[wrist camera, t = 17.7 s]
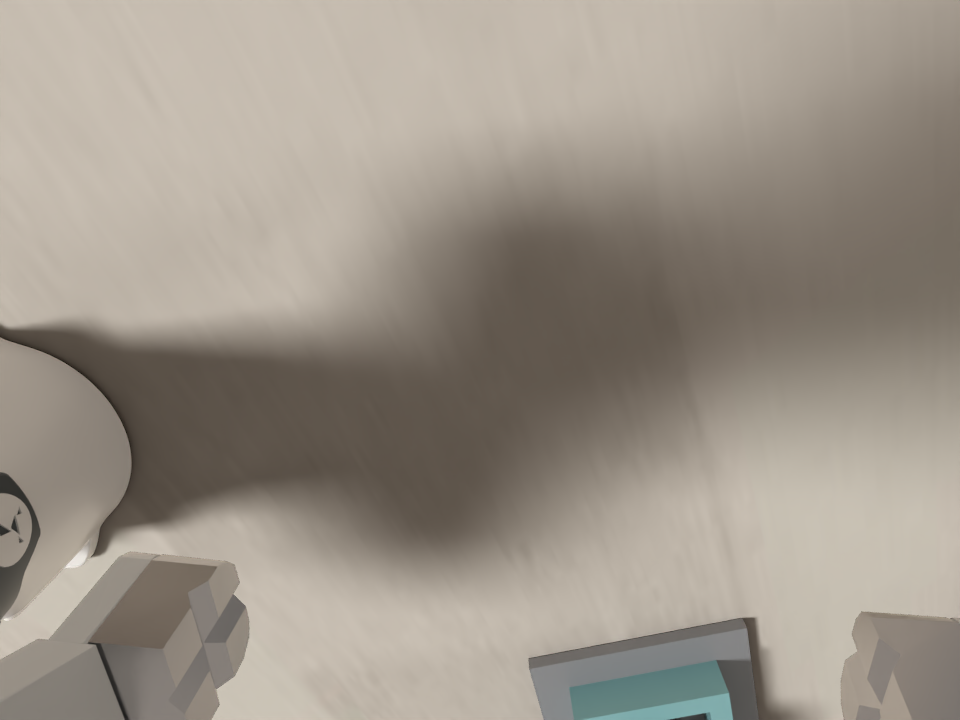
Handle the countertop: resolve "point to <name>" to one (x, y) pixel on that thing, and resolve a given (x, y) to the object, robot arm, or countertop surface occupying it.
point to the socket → (652, 677)
